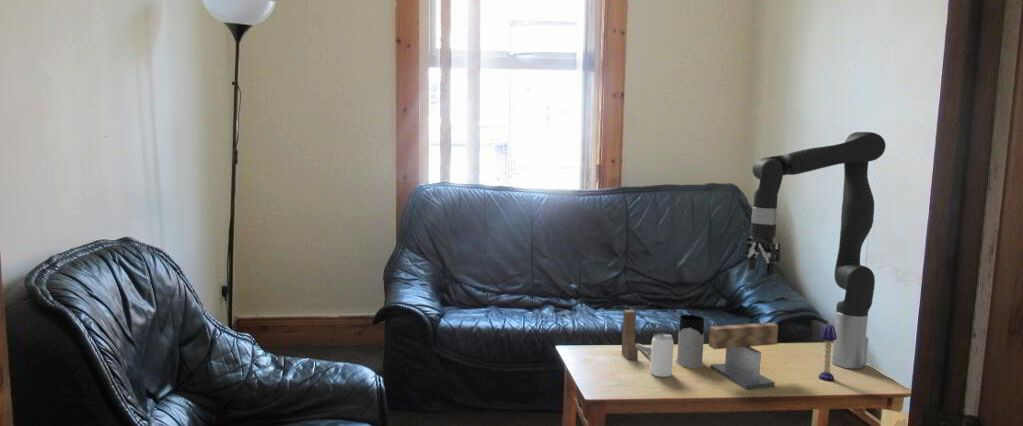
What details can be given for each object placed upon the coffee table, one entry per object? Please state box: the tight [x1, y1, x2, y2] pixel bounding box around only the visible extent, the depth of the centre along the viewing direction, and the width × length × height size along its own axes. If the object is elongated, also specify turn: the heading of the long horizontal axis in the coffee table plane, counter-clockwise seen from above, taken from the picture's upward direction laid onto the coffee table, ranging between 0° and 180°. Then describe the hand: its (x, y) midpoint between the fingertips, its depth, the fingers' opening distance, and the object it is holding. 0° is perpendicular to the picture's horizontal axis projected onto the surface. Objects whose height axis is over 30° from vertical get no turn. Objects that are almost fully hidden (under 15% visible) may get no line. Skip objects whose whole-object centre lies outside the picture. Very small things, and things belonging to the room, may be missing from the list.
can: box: [649, 332, 675, 378], centre depth 206 cm, size 6×6×12 cm
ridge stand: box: [709, 346, 776, 390], centre depth 206 cm, size 10×18×10 cm, turn 17°
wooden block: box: [621, 309, 639, 361], centre depth 222 cm, size 7×3×15 cm, turn 10°
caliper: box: [635, 343, 652, 357], centre depth 224 cm, size 20×1×6 cm, turn 7°
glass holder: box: [675, 314, 705, 369], centre depth 220 cm, size 9×14×15 cm, turn 157°
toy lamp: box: [818, 324, 837, 382], centre depth 206 cm, size 5×5×17 cm
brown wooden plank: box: [708, 322, 779, 350], centre depth 205 cm, size 22×3×6 cm, turn 107°
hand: (760, 272), depth 216 cm, fingers open, 8 cm apart
